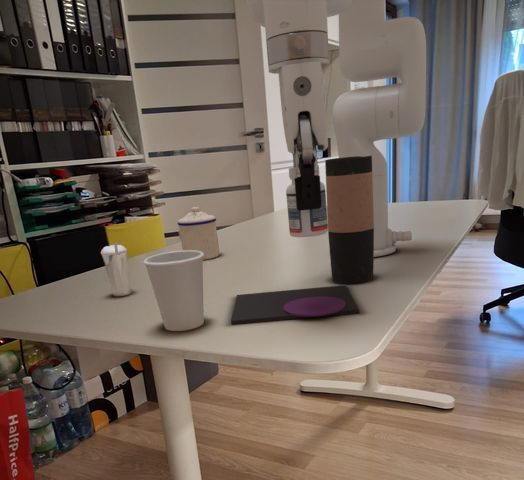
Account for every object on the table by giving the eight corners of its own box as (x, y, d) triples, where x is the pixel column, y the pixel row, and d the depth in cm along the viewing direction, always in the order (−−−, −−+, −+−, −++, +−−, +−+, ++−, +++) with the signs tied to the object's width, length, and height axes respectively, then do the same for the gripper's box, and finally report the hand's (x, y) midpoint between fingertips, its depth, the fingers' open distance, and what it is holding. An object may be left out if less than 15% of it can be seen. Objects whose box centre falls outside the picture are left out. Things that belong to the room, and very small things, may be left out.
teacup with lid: (228, 254, 125) (222, 204, 121) (198, 262, 119) (191, 210, 115) (197, 251, 133) (191, 204, 129) (168, 258, 128) (160, 210, 123)
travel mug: (326, 284, 89) (319, 161, 82) (335, 273, 96) (330, 158, 89) (371, 284, 87) (368, 156, 79) (378, 273, 93) (375, 154, 86)
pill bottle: (329, 229, 74) (325, 163, 71) (326, 236, 69) (323, 165, 66) (292, 232, 75) (287, 167, 72) (287, 238, 70) (281, 169, 67)
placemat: (345, 288, 86) (345, 283, 85) (361, 316, 71) (361, 310, 71) (237, 298, 87) (236, 293, 86) (230, 328, 72) (229, 321, 72)
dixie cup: (163, 338, 71) (150, 265, 67) (150, 323, 78) (137, 256, 74) (220, 325, 73) (211, 255, 70) (203, 312, 81) (193, 247, 77)
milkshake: (113, 299, 94) (102, 244, 90) (107, 294, 98) (96, 241, 95) (138, 294, 96) (128, 240, 92) (131, 289, 100) (121, 237, 97)
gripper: (336, 38, 56) (343, 211, 62) (322, 63, 72) (328, 199, 78) (267, 45, 56) (281, 217, 63) (267, 69, 72) (279, 203, 79)
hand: (307, 205), depth 70 cm, fingers closed on pill bottle, 5 cm apart
